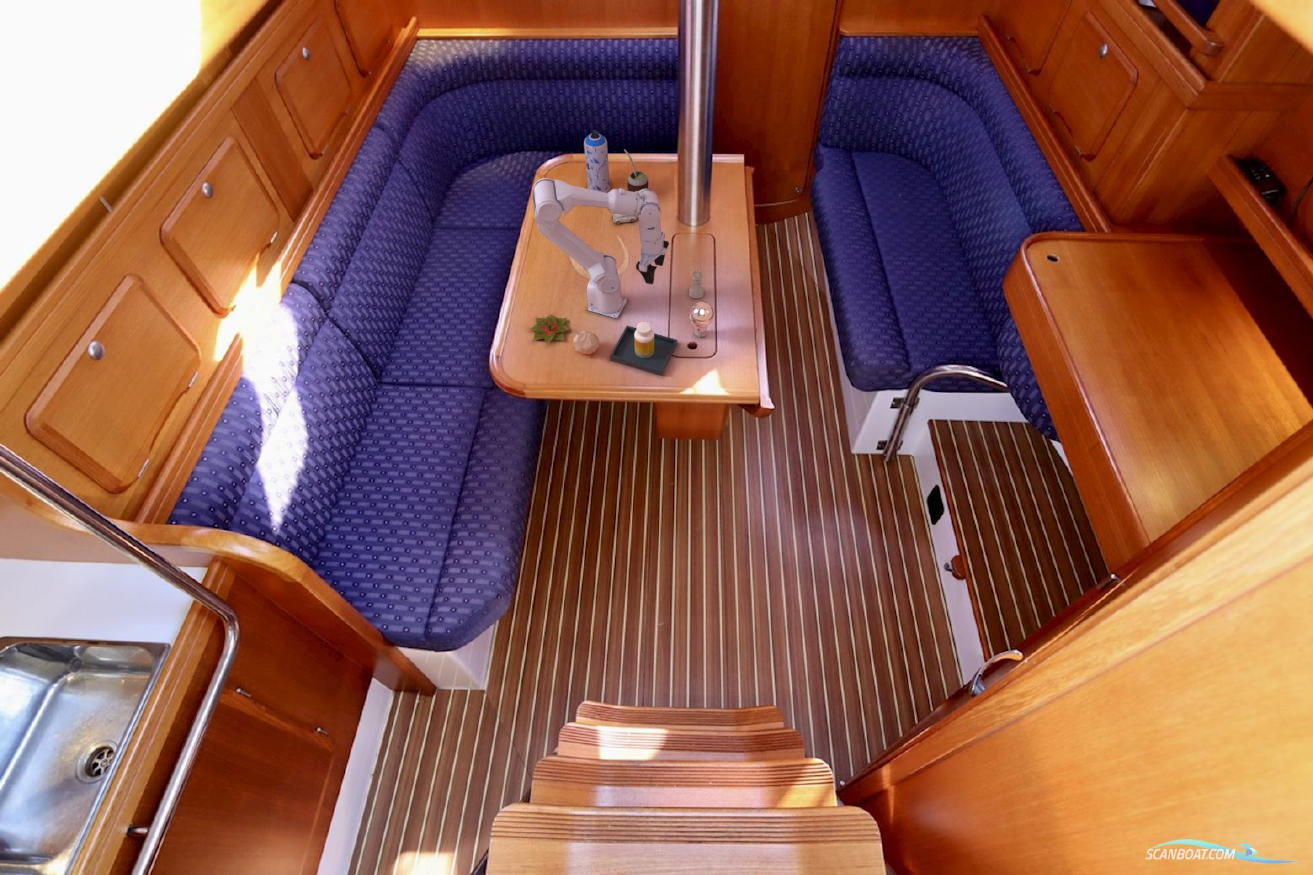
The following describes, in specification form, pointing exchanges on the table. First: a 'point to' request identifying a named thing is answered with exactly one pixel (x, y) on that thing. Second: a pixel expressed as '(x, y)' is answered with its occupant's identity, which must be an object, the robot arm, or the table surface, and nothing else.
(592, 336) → the garlic bulb
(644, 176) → the mate gourd
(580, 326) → the table surface
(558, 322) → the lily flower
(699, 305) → the light bulb
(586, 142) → the aerosol can
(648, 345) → the supplement bottle
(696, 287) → the rook chess piece
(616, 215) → the toy car
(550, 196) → the robot arm
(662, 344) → the tray
